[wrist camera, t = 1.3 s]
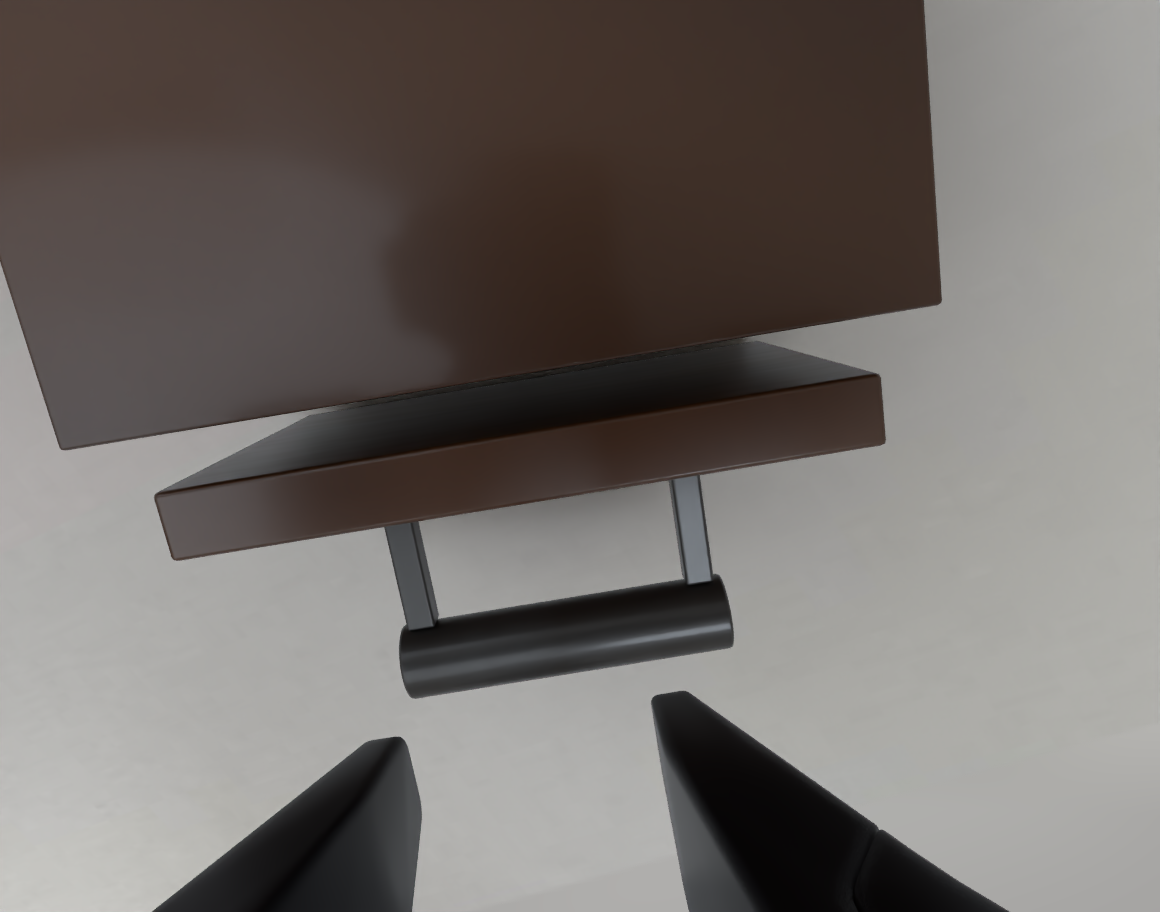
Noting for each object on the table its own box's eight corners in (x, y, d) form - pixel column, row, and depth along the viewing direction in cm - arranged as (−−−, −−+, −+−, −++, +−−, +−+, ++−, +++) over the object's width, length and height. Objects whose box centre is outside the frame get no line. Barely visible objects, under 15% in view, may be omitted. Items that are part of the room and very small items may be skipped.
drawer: (784, 557, 21) (909, 709, 13) (359, 626, 21) (245, 814, 14) (698, -208, 17) (806, -602, 10) (178, -115, 17) (-124, -431, 10)
